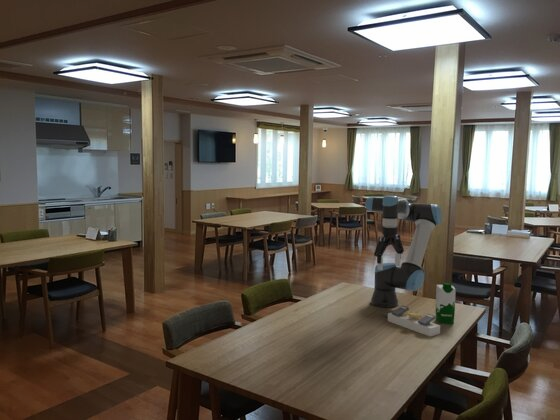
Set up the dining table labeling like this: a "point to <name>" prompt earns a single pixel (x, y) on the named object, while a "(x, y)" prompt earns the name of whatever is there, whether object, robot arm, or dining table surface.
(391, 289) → the robot arm
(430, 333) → the rocker switch panel
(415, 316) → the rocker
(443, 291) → the milk carton
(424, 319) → the plate
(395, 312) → the block
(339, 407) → the dining table surface
